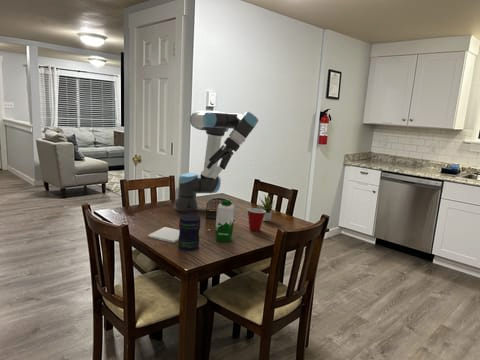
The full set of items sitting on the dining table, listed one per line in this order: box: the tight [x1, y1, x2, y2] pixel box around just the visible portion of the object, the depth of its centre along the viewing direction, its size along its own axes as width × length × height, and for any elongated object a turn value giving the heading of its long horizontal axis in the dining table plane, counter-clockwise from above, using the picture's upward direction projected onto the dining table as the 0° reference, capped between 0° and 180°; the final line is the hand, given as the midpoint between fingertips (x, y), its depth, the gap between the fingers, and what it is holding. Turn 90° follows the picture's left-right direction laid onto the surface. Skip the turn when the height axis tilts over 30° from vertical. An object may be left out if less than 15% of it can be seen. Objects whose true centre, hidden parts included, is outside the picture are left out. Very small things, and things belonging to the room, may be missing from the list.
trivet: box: [147, 226, 180, 244], centre depth 179 cm, size 15×15×1 cm
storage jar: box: [177, 213, 202, 252], centre depth 164 cm, size 10×10×15 cm
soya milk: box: [215, 199, 235, 243], centre depth 178 cm, size 9×9×20 cm
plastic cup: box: [246, 207, 266, 232], centre depth 197 cm, size 11×11×12 cm
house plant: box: [256, 194, 276, 221], centre depth 217 cm, size 14×14×16 cm
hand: (208, 176), depth 171 cm, fingers open, 13 cm apart
